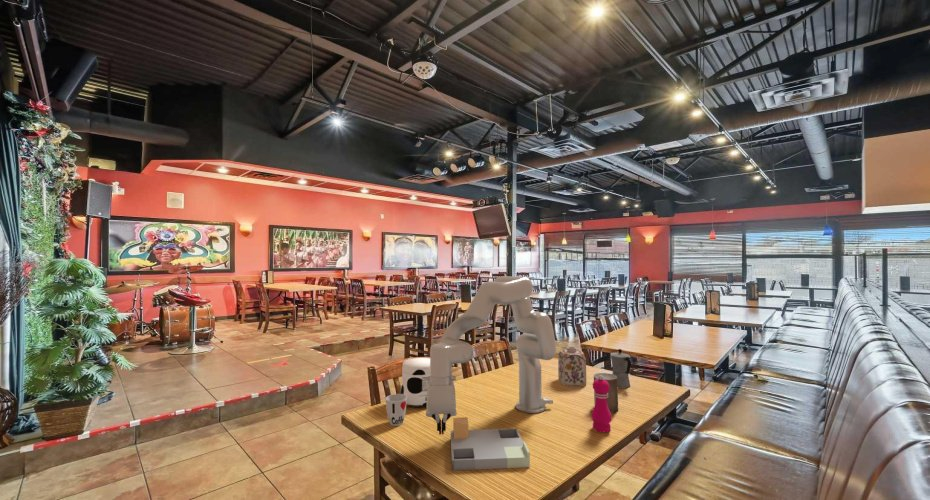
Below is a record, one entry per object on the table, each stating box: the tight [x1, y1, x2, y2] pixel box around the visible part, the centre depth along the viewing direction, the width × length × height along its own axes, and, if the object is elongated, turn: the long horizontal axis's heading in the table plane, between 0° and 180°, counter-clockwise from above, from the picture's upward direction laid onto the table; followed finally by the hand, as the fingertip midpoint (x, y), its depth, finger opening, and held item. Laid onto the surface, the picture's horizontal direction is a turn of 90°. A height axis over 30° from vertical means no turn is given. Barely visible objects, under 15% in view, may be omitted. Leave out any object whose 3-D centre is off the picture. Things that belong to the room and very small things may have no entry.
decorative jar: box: [557, 346, 587, 387], centre depth 198 cm, size 12×12×18 cm
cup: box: [385, 393, 407, 427], centre depth 150 cm, size 8×8×10 cm
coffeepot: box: [610, 348, 632, 389], centre depth 192 cm, size 15×9×18 cm, turn 9°
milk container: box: [399, 357, 430, 408], centre depth 172 cm, size 17×17×18 cm
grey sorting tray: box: [450, 428, 531, 471], centre depth 128 cm, size 24×20×4 cm
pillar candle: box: [593, 372, 619, 413], centre depth 164 cm, size 10×10×15 cm
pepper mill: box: [591, 375, 613, 433], centre depth 144 cm, size 7×7×20 cm
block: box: [452, 416, 469, 439], centre depth 134 cm, size 5×5×5 cm
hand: (441, 432), depth 133 cm, fingers closed
